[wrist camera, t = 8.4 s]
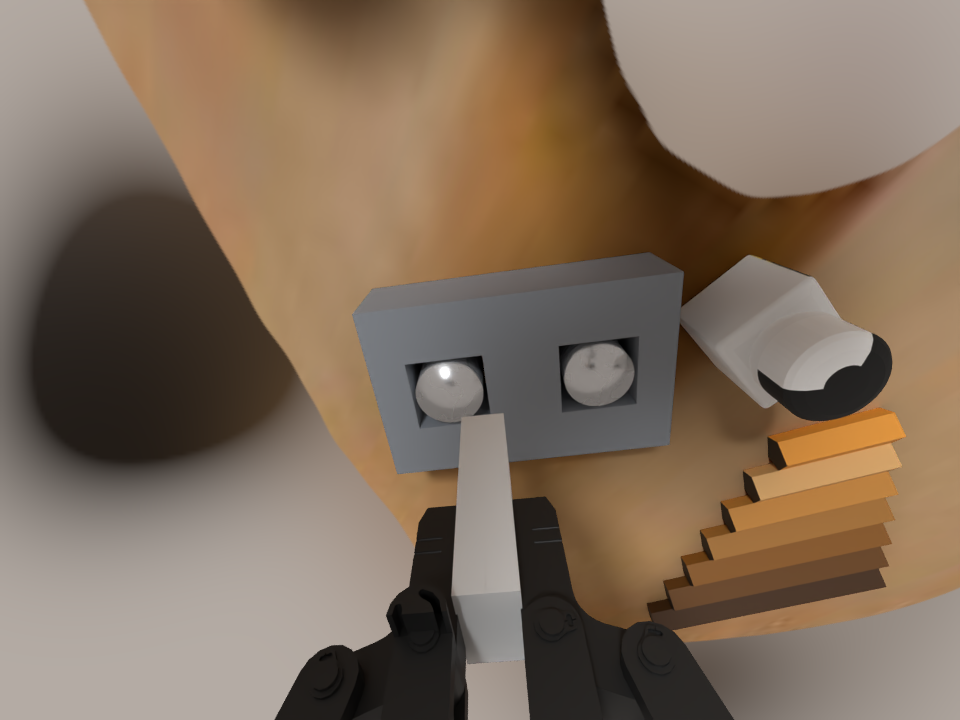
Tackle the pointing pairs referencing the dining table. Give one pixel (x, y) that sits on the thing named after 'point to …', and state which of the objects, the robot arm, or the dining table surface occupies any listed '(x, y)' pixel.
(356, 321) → the peg block
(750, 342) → the medicine bottle
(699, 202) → the dining table surface
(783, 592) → the pan flute
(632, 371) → the steel peg
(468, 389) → the steel peg
